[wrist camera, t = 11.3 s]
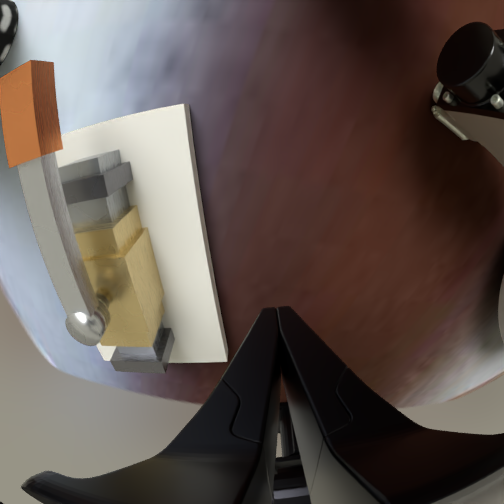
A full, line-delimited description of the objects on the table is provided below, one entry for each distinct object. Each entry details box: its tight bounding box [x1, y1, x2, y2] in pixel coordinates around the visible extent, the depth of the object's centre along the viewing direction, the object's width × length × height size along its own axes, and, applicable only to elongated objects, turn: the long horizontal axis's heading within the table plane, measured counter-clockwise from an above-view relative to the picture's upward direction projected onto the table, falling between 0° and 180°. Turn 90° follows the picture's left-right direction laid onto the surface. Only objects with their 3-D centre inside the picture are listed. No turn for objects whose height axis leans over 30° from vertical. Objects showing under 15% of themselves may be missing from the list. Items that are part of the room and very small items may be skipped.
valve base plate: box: [55, 104, 228, 363], centre depth 21 cm, size 20×12×2 cm, turn 5°
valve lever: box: [0, 60, 111, 346], centre depth 12 cm, size 14×2×3 cm, turn 5°
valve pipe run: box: [58, 149, 175, 373], centre depth 18 cm, size 16×5×4 cm, turn 5°
